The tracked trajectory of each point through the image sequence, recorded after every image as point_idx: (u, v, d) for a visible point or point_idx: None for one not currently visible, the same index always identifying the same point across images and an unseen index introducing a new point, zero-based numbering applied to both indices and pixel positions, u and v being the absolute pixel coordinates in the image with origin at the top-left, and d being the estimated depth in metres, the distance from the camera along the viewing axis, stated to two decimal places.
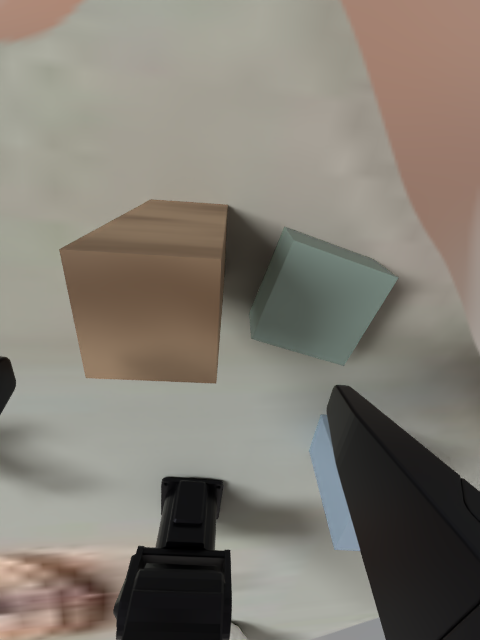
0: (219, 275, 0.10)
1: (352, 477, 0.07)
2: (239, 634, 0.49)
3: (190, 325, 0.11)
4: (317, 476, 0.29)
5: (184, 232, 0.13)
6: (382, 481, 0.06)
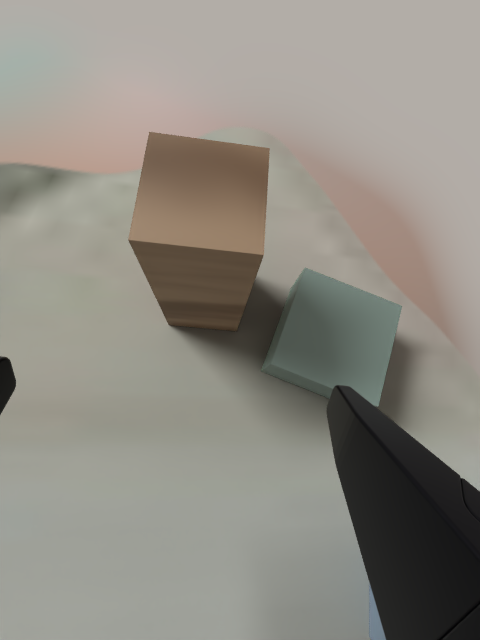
0: (268, 158, 0.13)
1: (352, 477, 0.07)
2: None
3: (242, 195, 0.12)
4: None
5: None
6: (382, 481, 0.06)
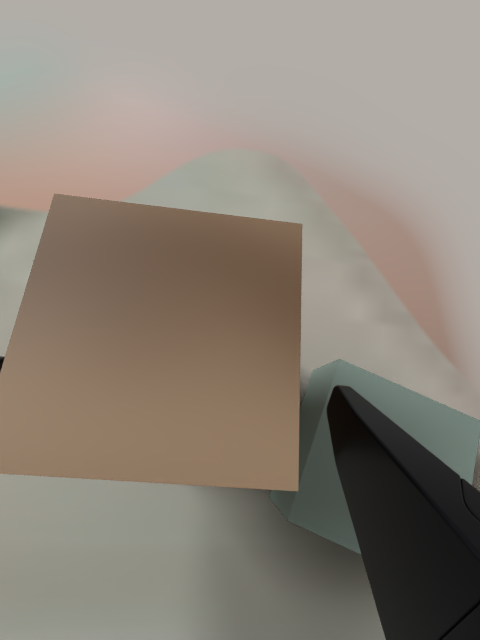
0: (300, 246, 0.06)
1: (352, 477, 0.07)
2: None
3: (248, 334, 0.06)
4: None
5: None
6: (382, 481, 0.06)
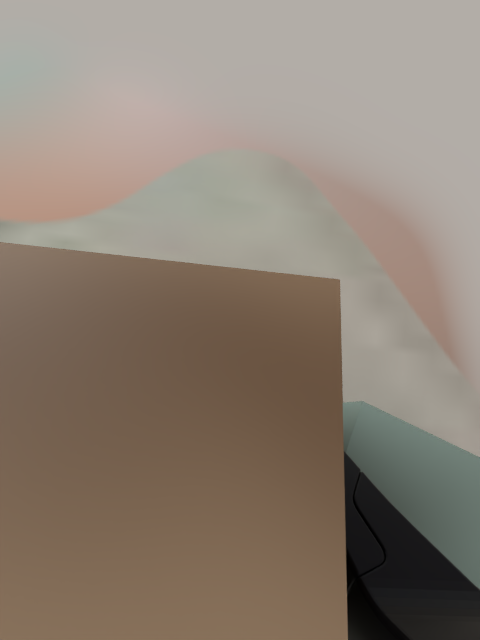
0: (338, 318, 0.04)
1: None
2: None
3: (256, 481, 0.03)
4: None
5: None
6: None
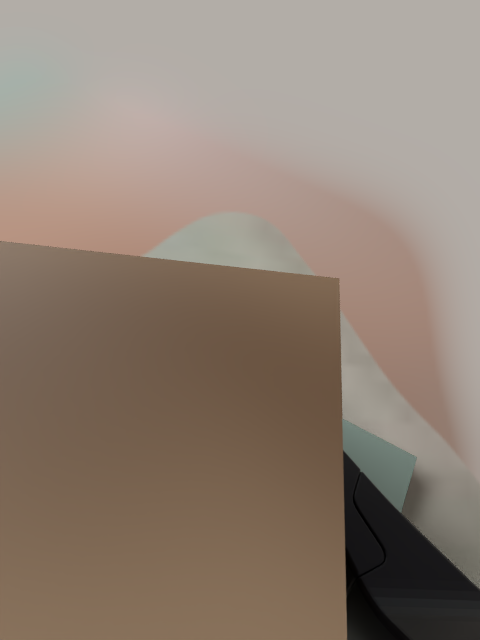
0: (338, 316, 0.04)
1: None
2: None
3: (256, 478, 0.03)
4: None
5: None
6: None
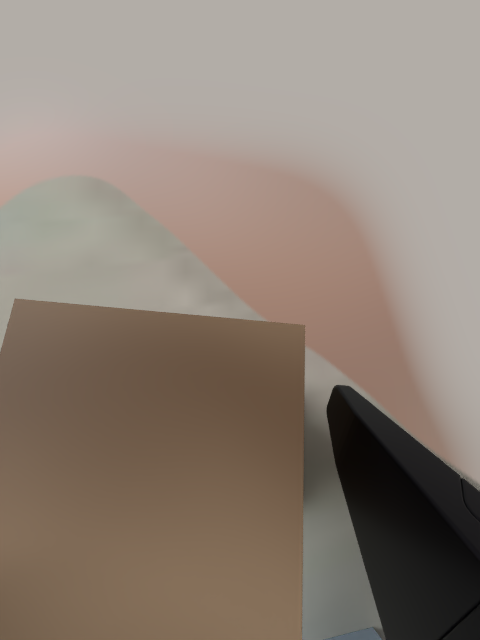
0: (303, 354, 0.06)
1: (352, 477, 0.07)
2: None
3: (243, 471, 0.05)
4: None
5: None
6: (382, 481, 0.06)
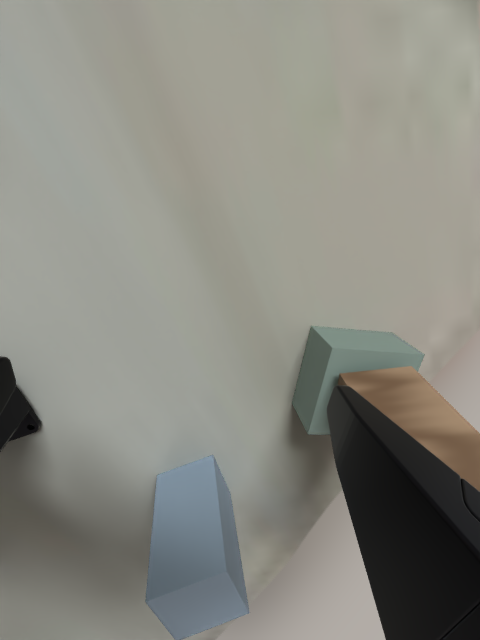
0: None
1: (352, 477, 0.07)
2: None
3: None
4: (158, 507, 0.24)
5: None
6: (382, 481, 0.06)
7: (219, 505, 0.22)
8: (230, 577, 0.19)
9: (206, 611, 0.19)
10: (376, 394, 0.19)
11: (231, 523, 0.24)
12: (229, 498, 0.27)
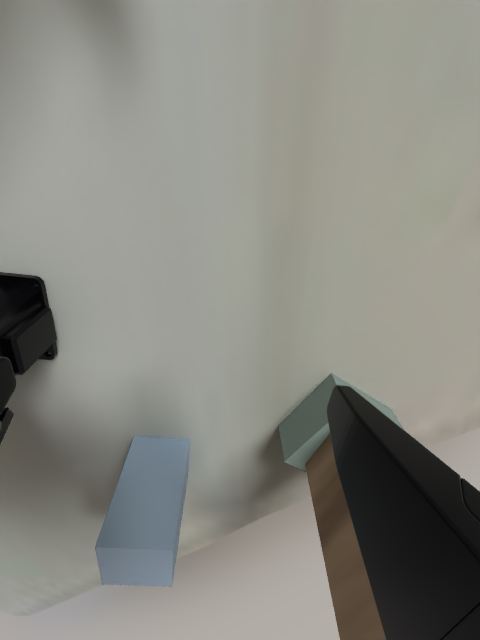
0: None
1: (352, 477, 0.07)
2: None
3: None
4: (127, 467, 0.25)
5: None
6: (382, 481, 0.06)
7: (182, 488, 0.24)
8: (172, 555, 0.21)
9: (139, 572, 0.22)
10: None
11: (182, 504, 0.27)
12: (186, 480, 0.29)
